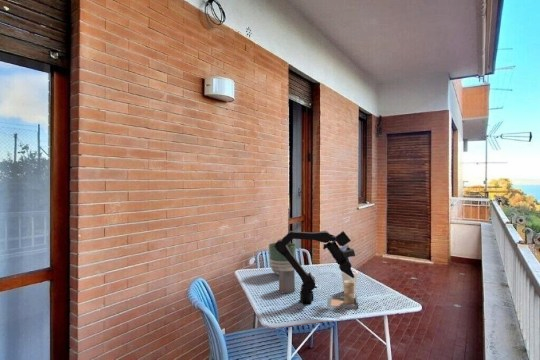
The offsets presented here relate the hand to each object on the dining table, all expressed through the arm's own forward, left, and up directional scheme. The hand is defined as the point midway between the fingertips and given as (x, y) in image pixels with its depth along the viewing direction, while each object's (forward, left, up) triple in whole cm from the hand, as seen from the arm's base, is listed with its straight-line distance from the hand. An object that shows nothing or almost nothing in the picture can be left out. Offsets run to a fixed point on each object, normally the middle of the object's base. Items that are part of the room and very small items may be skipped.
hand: (352, 275), depth 174 cm
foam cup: (+10, +15, -16) cm, 24 cm away
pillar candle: (-23, +35, -16) cm, 44 cm away
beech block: (-3, -1, -15) cm, 15 cm away
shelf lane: (-6, +1, -16) cm, 17 cm away
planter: (-9, +68, -16) cm, 70 cm away
